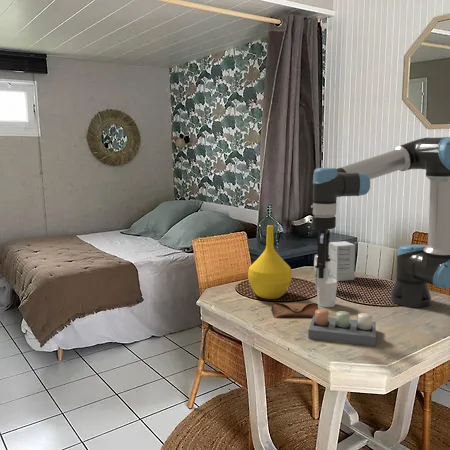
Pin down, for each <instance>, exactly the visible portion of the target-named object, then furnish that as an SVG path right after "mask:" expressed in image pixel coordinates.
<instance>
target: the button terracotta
mask: <svg viewBox="0 0 450 450" xmlns="http://www.w3.org/2000/svg"><path fill="white" fill-rule="evenodd" d="M328 317H329V310H328V309H324V308H318V310H315V323H316V324H318V325H327V324H328Z"/></svg>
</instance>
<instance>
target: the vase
mask: <svg viewBox="0 0 450 450" xmlns="http://www.w3.org/2000/svg"><path fill="white" fill-rule="evenodd" d="M265 241H266V243H265V244H266V245H265V249H264V250H263V252H262V253H261V254H260V256H258V258H257V259H256V260H255V261H254V262H253V263H252V264H251V265H250V266H249V267H248V272H247V278H248V281H249V285H250V288H251V290H252V291H253V293H254V294H256V295H257V296H258V297H259V298H261V299H265V300H274V299H279V298H281V297H282V296H284V295H285V294H286V292H287V290H289V287H290V286H291V282H292V279H293V274H292V268H291V266H290V265H289V264H288V263H287V262H286V261H285V260H284V259H283V258H282V257H281V255H279V253H278V252H277V251H276V249H275V246H274V243H275V241H274V225H271V224H270V225H267V226H266V240H265Z"/></svg>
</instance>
